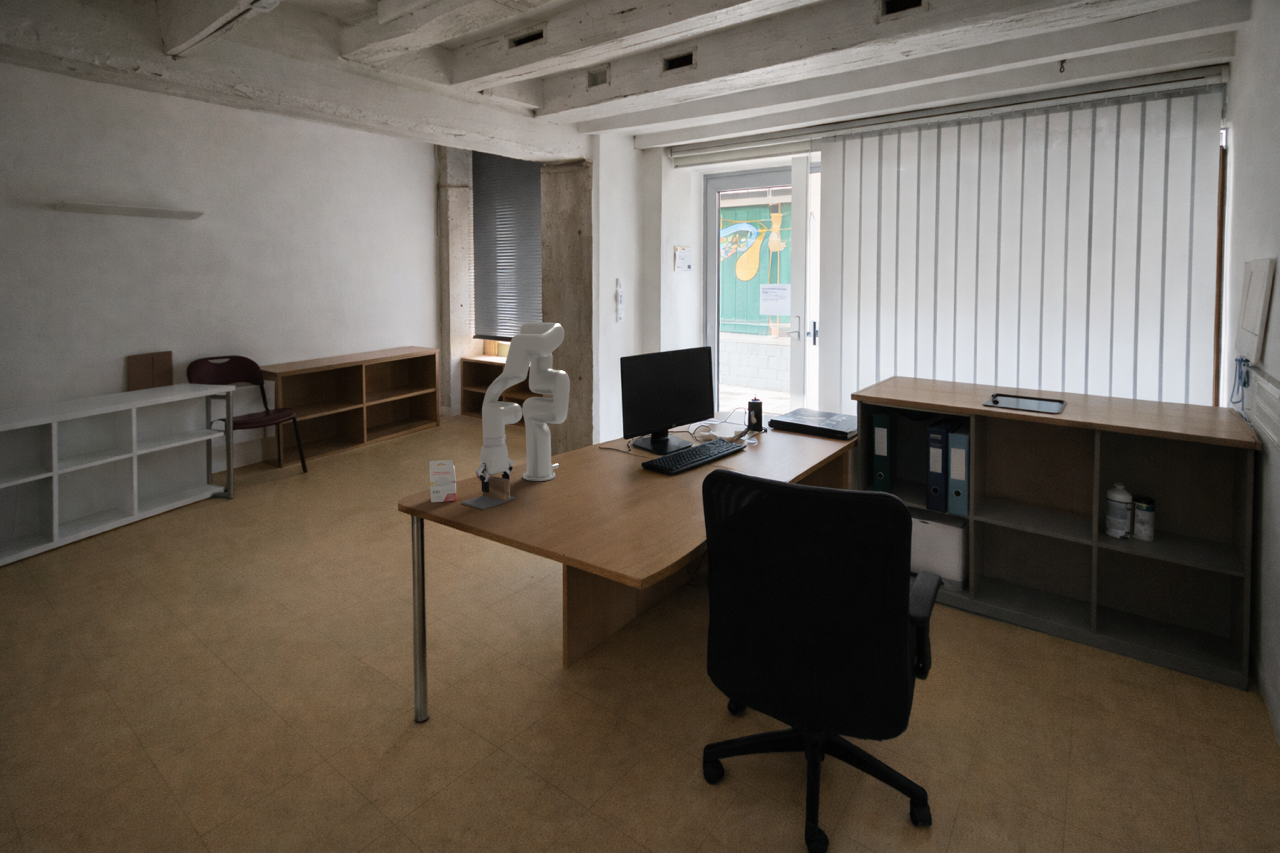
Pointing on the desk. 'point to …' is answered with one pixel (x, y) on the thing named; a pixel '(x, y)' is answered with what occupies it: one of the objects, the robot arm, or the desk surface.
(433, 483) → the ink cartridge box
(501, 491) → the tile
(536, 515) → the desk surface
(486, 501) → the mat
